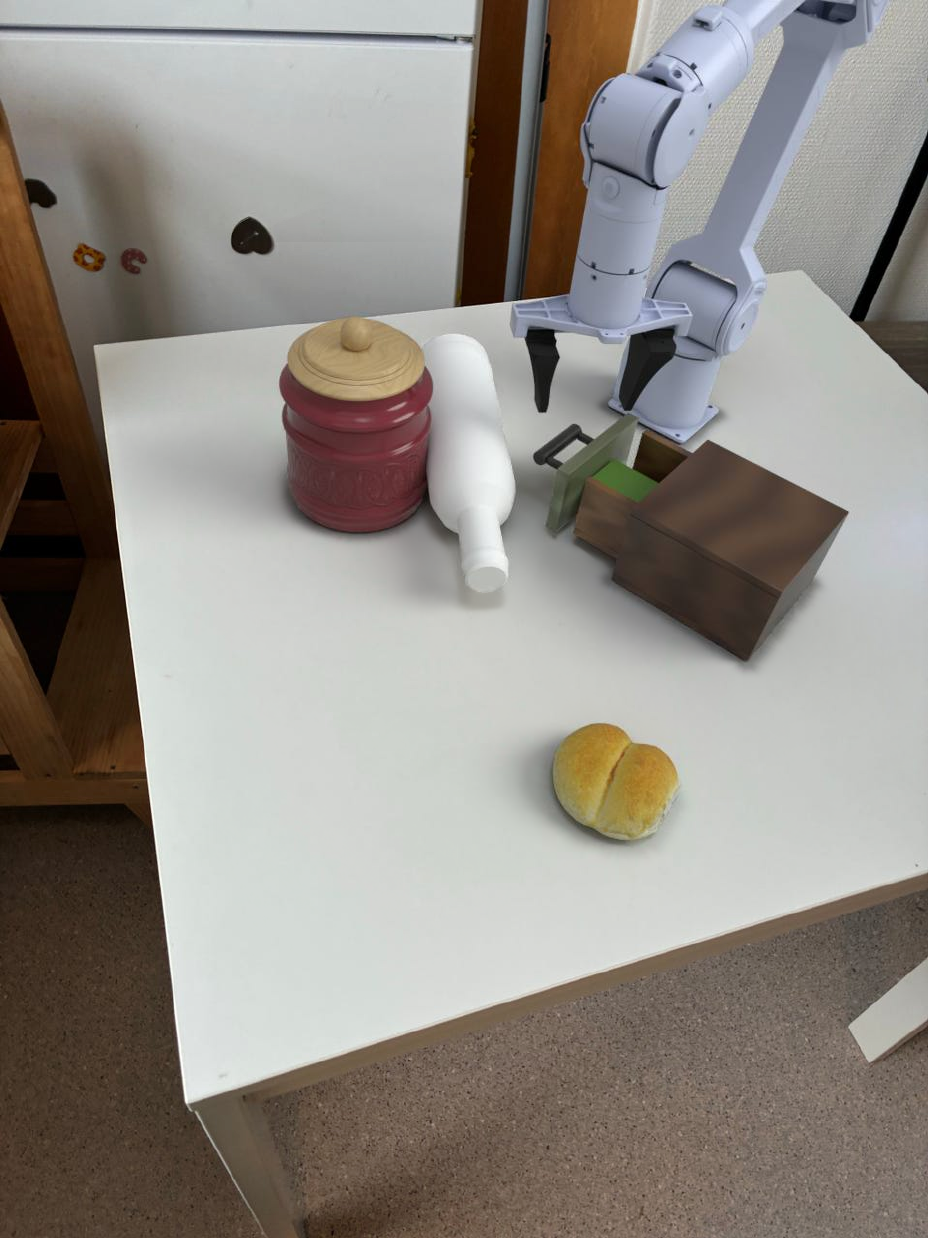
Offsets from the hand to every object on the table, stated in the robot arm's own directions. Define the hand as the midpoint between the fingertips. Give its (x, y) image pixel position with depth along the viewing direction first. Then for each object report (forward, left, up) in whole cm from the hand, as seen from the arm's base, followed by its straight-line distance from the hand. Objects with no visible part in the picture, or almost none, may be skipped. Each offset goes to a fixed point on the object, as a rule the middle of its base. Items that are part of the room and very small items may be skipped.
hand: (582, 405), depth 79 cm
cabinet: (+16, 0, -10) cm, 19 cm away
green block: (+6, 0, -8) cm, 11 cm away
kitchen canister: (-15, -13, -11) cm, 22 cm away
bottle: (-18, +4, -6) cm, 20 cm away
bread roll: (+21, -24, -11) cm, 34 cm away
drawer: (+6, 0, -10) cm, 11 cm away
